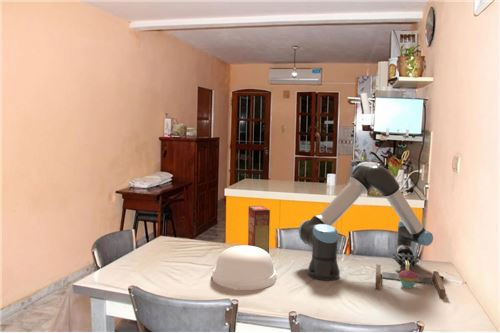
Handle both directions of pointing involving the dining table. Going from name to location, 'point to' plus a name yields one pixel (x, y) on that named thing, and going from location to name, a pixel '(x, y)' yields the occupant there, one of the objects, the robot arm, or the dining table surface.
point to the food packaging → (258, 227)
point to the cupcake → (408, 277)
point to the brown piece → (423, 280)
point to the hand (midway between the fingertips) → (407, 267)
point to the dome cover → (244, 268)
